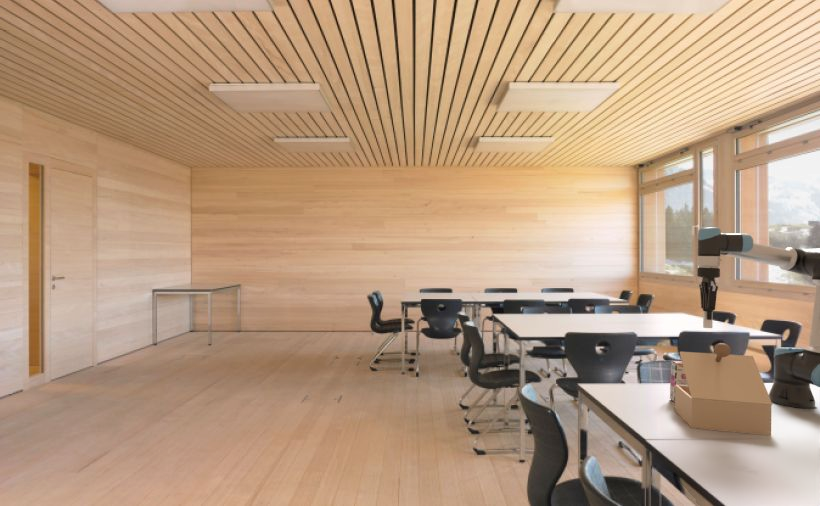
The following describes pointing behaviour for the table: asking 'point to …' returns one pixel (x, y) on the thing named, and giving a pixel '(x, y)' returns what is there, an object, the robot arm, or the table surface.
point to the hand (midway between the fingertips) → (707, 327)
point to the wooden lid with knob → (724, 377)
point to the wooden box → (722, 414)
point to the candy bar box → (677, 377)
